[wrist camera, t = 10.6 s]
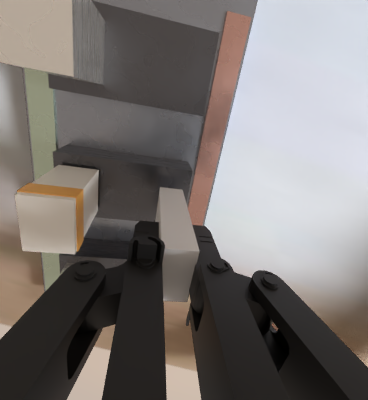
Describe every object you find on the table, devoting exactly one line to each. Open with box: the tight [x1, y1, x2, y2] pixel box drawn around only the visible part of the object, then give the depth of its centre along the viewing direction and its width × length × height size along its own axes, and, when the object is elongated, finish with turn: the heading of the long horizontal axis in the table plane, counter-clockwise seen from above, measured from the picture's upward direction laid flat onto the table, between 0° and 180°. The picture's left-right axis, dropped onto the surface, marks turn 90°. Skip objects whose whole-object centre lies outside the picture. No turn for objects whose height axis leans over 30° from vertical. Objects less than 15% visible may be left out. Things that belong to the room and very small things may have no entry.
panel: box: [0, 0, 258, 291], centre depth 15 cm, size 14×26×9 cm, turn 170°
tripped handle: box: [15, 165, 99, 254], centre depth 13 cm, size 2×3×5 cm
